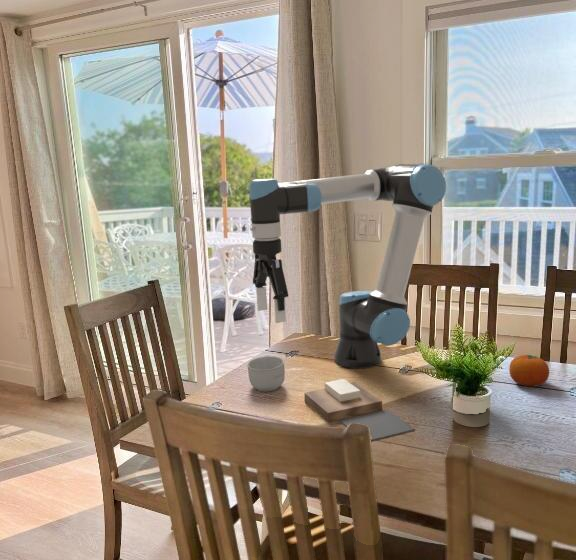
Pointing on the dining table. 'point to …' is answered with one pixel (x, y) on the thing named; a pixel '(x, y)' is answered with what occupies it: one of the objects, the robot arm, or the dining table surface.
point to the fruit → (529, 370)
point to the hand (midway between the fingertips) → (271, 315)
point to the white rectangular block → (342, 390)
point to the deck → (342, 404)
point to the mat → (381, 424)
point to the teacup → (266, 373)
